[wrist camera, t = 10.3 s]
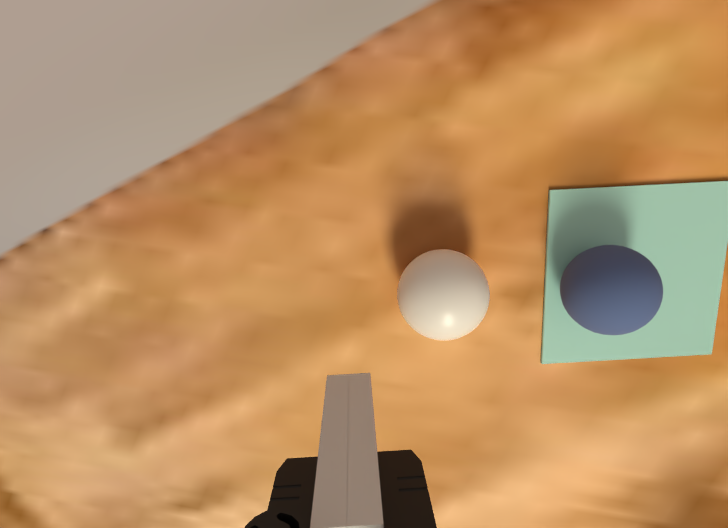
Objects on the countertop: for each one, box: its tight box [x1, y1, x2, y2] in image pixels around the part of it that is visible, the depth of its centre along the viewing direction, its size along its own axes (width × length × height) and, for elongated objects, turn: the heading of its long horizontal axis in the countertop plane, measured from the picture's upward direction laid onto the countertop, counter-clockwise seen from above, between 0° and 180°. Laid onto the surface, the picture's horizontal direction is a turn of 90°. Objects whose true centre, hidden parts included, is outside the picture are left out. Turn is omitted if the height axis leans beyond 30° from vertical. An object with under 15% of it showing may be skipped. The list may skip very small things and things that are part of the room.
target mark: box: [541, 181, 728, 364], centre depth 30 cm, size 12×12×1 cm
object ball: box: [560, 245, 663, 335], centre depth 27 cm, size 6×6×6 cm
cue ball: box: [397, 249, 490, 340], centre depth 27 cm, size 6×6×6 cm
